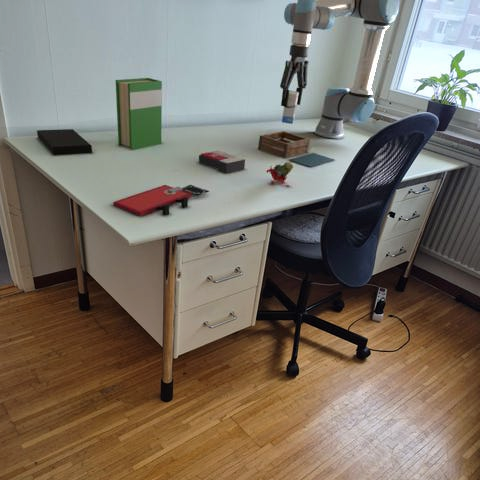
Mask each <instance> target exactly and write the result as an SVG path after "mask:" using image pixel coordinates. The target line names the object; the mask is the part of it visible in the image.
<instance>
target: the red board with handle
mask: <svg viewBox="0 0 480 480" xmlns="http://www.w3.org/2000/svg"><path fill="white" fill-rule="evenodd" d="M209 192H210V190H208V189H206V188H202V187H199V186H196V185H192V184H188V185H186V186H183V187H181V186H174V187H173V186H170V185H167V184H163V185H159V186H157V187H154V188H151V189H148V190H145V191H142V192H139V193H136V194H133V195H130V196H127V197H124V198H121V199H118V200H115V201H112V204H113V206H115V207H117V208H119V209H122V210H125V211H126V212H129V213H132V214H135V215H137V216H139V217H142V216H145V215H147V214H150V213H152V212H155V211H162V215H163V216H167V215H170V206H171V205H173V204H181V205H180V207H181V208H182V209H185V208H188V205H189V198H191V197H192V195H193V196H196V197H199V196H201V195H205V194H208V193H209Z"/></svg>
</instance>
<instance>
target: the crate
mask: <svg viewBox="0 0 480 480" xmlns="http://www.w3.org/2000/svg"><path fill="white" fill-rule="evenodd" d="M309 145H310V138H307V137H304V136H302V135H298V134H295V133H291V132H288V131H284V130H280V131H276V132H271V133H266V134H260V135H259V138H258V147H257V150H259V151H262V152H265V153H268V154H272V155H274V156H277V157H280V158H283V159H287V158H292V157H294V156H299V155H302V154H307V153H308V150H309Z"/></svg>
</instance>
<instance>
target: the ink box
mask: <svg viewBox="0 0 480 480" xmlns="http://www.w3.org/2000/svg"><path fill="white" fill-rule="evenodd" d="M288 90H289V97H288V104H287V107H284V106H283V111H282V119H281V123H283V124H290V125H293V123H294V121H295V118H296V112H297V106H298V105H297V100H298V94H299V92H296V90H291V89H288Z"/></svg>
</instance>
